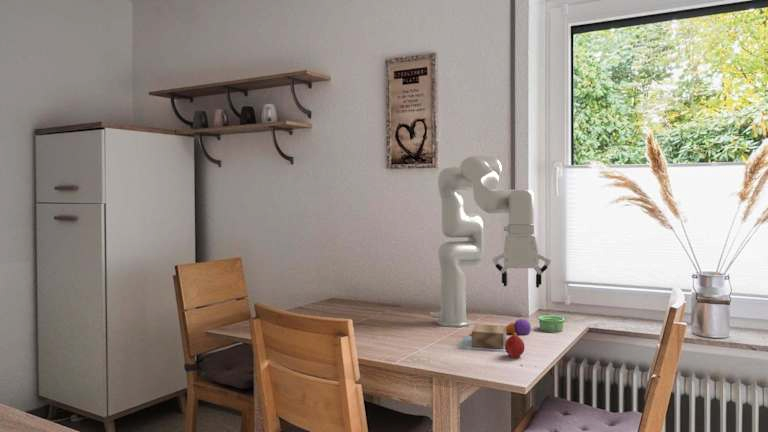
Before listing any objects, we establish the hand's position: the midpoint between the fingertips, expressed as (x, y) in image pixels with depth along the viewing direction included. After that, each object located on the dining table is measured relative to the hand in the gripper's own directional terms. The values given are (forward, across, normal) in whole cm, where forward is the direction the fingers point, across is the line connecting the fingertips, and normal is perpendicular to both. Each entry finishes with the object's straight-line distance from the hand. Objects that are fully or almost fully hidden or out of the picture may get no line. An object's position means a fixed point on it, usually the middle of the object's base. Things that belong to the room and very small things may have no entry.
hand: (521, 286), depth 177 cm
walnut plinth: (+21, -11, +8) cm, 25 cm away
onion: (+22, -2, -3) cm, 22 cm away
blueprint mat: (+21, -11, +8) cm, 26 cm away
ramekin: (+22, +6, +38) cm, 44 cm away
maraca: (+22, -9, +24) cm, 33 cm away
